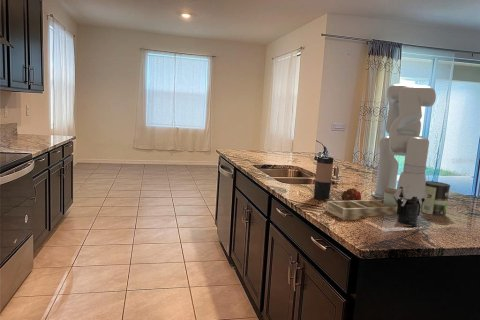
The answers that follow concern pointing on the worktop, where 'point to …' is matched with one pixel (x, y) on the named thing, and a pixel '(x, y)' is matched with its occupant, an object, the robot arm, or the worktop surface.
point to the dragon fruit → (351, 195)
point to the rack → (359, 209)
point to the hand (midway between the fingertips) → (407, 214)
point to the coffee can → (435, 198)
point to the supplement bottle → (410, 213)
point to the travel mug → (323, 178)
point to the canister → (389, 197)
